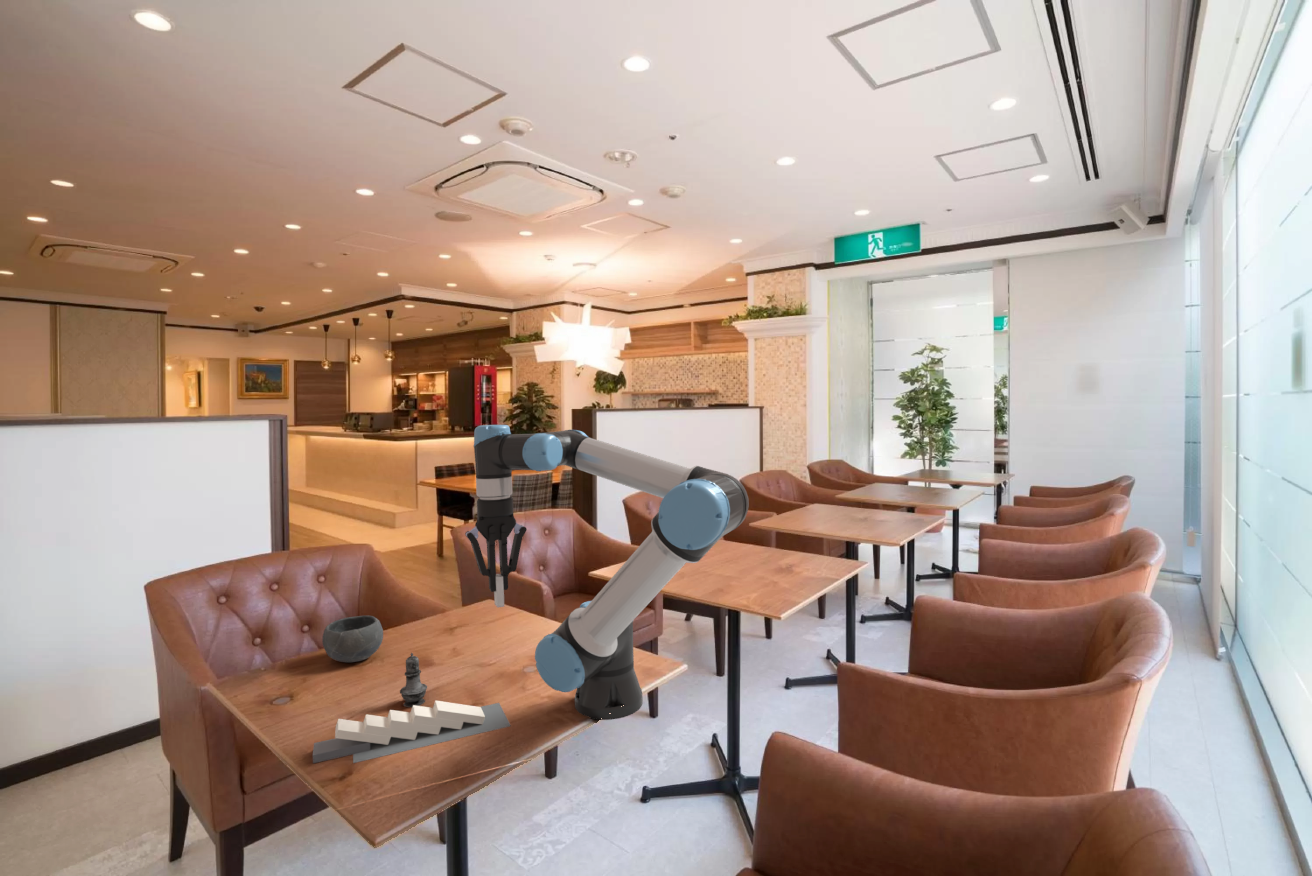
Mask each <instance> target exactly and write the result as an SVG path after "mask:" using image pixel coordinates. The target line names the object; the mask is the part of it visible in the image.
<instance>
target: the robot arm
mask: <svg viewBox="0 0 1312 876" xmlns="http://www.w3.org/2000/svg"><path fill="white" fill-rule="evenodd" d="M473 450H474V452H473V453H474V463H475V484H476V485H475V487H476V489H475V490H476V491H475V493H476V496H477V497H479V498H477V500H476V513H477V518H476V519H477V520H476V522H475V525H474V526H473V528H472V529H471V530H467V531H465V534H464V535H465V536H466V538H467V539H468V540H469V542H470V545H471V547H472V551H473V554H474V558H475V560H476V564H477V566H478V570H479V572H480V574H481V575H482V576H486V577H488V588H489V591H490V592H491V593H493V595H494V605H495V606H496V608H503V607H505V594H504V593H505V591H506V590H507V591H508V589H509V575H510V573H512V572H513V573H514V572H515V571H517V567H518V562H519V557H520V552H521V546H522V541H523V537H524V536H525V534H526V532H527V527H526V526H524V525H522V524H519V523H517V520H516V518H515V516H514V498H513V497H512V496H511V495H512V494H513V476H512V475H513V473H512V472H513V471H514V470H519V471H536V472H543V471H544V472H545V471H552V470H556V468H557V467H560V466H567V467H569V468H573V469H576V470H578V471H582V472H585V473H587V474H590V475H593V476H597V477H599V478H603V479H606V480H607V481H611V482H615V483H617V484H620V485H623V486H626V487H630V488H632V489H635V490H638V491H640V492H643V493H647V494H649V495H653V496H655V497H658V498H661V499H662V500H661V502H660V504H659V508H658V512H657V513H656V514H655V515H654V517H653V518H652V519H651V521H650V522H651V523H650V524H651V525H650V527H651V530H652V531H651V533H649V535H648V536H647V537H646V538H645V539H644V540H643V541H642V543H641V544H640V545H639V546H638V547H637V548H636V549H635V550H634V551H633V553H632V554H631V555H630V556H629V557H628V559H627V560H626V561H625V562H624V563H623V565H622V566H620V568H619V569H618V570H617V571H616V572H615V574H614V575H613V576H612V577H611V578H610V579H609V580H608V581H607V583H605V585H604V586H603V587H602V588H601V590H600V591H599V592H598V593H597V594H596V595H595V596H594V598H593V599H592V600H588V601H585V602H582V603H581V604H580V605H579V607H577V608H575V609H574V610H572V611H571V612H570V614H569V615H567V617H566V618H565V619H564V620H563V622H562V623H561V624H560V625H559V626H558V628H556V629H555V630H554V631H553V632H551V633H548V634H546V635H544V637H543V638H542V639H540V641H538V643H537V645H536V647H535V652H534V660H535V666H536V671H537V672H538V673H539V676H540V677H541V679H542V680H543V681H544V683H545V684H546V685H547V686H548V687H550V688H551V689H553V690H555V691H559V692H561V693H569V692H572V691H575V690H576V692H575V694H574V708H575V710H576V711H577V712H578V713H579V714H580V715H582V716H584V717H587V718H590V719H592V720H598V719H600V720H601V721H611V720H618V719H621V718H625V717H628V716H631V715H633V714H635V713H637V712H638V711H639V710H640V709H641V708H642V706H643V702H644V700H643V690H642V688H641V685H640V683H639V679H638V676H637V673H636V671H635V665H634V663H635V662H634V659H635V658H634V657H635V656H634V621H635V619H636V618H637V617H638V616H639V615H640V614H641V613H642V612H643V611H644V609H645V608H646V607H647V606H648V605H649V604H650V602H651V601H653V600H654V599H655V597H656V596H657V595H658V594H659V593H660V592H661V591H662V590H663V589H664V588H665V586H666V585H667V584H669V582H670V581H671V580H672V579H673V578H674V577H675V575H676V574H678V572H679V571H681V569H682V568H683V567H684V566H685V565H686V563H687V564H697V563H698V562H700V561H701V560H702V558H704V556H706V554H707V553H708V552H709V551H710V550H711V549H712V548H713V547H714V546H715V545H716V544H717V543H718V542H719V541H720V540H721V538H723V537H724V536H725V535H727V534H728V533H730V532H732V531H734V530H735V529H737V528H738V527H739V526H740V525H741V524H743V522H744V521H745V520H746V517H747V515H748V511H749V507H750V506H749V505H750V504H749V501H750V500H749V496H748V492H747V490H746V489H745V487H744V485H743V483H742V482H741V481H739V480H738V479H737V478H736V477H734V476H733V475H731V474H728V473H725V472H721V471H716V470H714V469H710V468H706V467H703V466H699V465H695V466H693V467H691V468H690V467H687V466H686V467H685V466H683V465H679V464H677V463H676V464H675V463H673V462H670V461H666V460H663V459H660V458H657V457H653V456H651V455H646V454H644V453H640V452H637V451H634V450H631V449H628V448H625V447H621V446H618V445H614V444H611V443H609V442H608V443H607V442H605V441H602V440H599V439H595V438H592V437H589V435H587V434H586V433H585V432H584V431H581V430H577V429H565V430H559V431H548V432H538V433H522V434H521V433H519V434H518V433H517V434H516V433H514V434H513V433H512V432H511V429H510V426H509V425H508V424H486V425H478V426H477V427H475V429H474V435H473ZM512 531H513V533H514V535H513V541H512V545H511V549H510V550H511V551H510V555H509V559H508V537H509V536H510V535H511V532H512ZM479 533H480V535H481V536H482V537H483V538H484V539H485V542H486V552H487V553H486V555H487V557H486V559H487V566H486V563H485V560H484V556H483V553H482V550H481V546H480V543H479V540H478V538H479ZM496 541H497V542H498V553H499V554H498V556H499V573H497V568H496V565H497V564H496ZM623 705H624V706H623ZM621 706H622V707H621ZM609 713H611V714H609ZM601 718H602V719H601Z"/></svg>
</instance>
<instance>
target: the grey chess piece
mask: <svg viewBox="0 0 1312 876" xmlns="http://www.w3.org/2000/svg"><path fill="white" fill-rule="evenodd" d="M409 655H410V656H408V657H407V658H406V659H405V672H404V676H405V680H406V681H405V682H406V683H405V686H403V687H402V688H401V689H400V690H399V693H400V694H401V698H402V700H403V701H405V702H403V706H404V707H406V708H412V707H413V705H416V706H422V705H424V703H425V702H426V700H425V699H424V697H425V695H426V692H427V689H428V685H427V684H425V683H422V681H421V673H422V670H421V669H420V661H419V660H420V659H419V658H418V656H415V655H414V653H413V652H411V653H410V654H409Z"/></svg>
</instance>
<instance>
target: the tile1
mask: <svg viewBox="0 0 1312 876" xmlns="http://www.w3.org/2000/svg"><path fill="white" fill-rule="evenodd" d="M481 707H482V706H477V705H476V706H475V705H469V704H461V703H457V702H448V701H442V700H436V699H435V700H434V704H433V707H432V708H433V710H434V714H435V718H439V719H447V720H454V721H461V722H468V723H476V724H483V722H484V719H485V715H484V713H483V711H482V709H481Z"/></svg>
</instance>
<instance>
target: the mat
mask: <svg viewBox="0 0 1312 876" xmlns="http://www.w3.org/2000/svg"><path fill="white" fill-rule="evenodd" d="M480 707H481V709H482V711H483V713H484V715H485V719H484V722H483V724H476V723H468V722H463V725H462V728H461V729H453V728H446V727H441V729H440V732H439V734H438V735H437V734H429V733H422V732H418V733H417V736H416V738H415V740H412V739H404V738H397V737H391V738H390V741H389V744H388V745H386V744H378V743H370V750H369V751H365V752H361V753H356V754H352V762H353V763H352V764H357V763H360V762H365V761H369V760H373V759H378V758H382V757H385V756H390V755H395V754H397V753H398V754H399V753H402V752H403V753H404V752H407V751H412V750H415V749H419V748H424V747H428V746H431V745H436V744H442V743H446V742H449V741H455V740H458V739H462V738H467V737H470V736H475V735H479V734H480V735H481V734H483V733H484V734H485V733H488V732H492V731H496V730H500V729H504V728H509V727H512V725H511V723H510V722H509V719H508V718H507V716H506V713H505V711H504V709H503V708H502V705H501V704H500V702H497V703H496V702H495V703H491V704H488V705H487V704H486V705H482V706H480Z"/></svg>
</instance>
